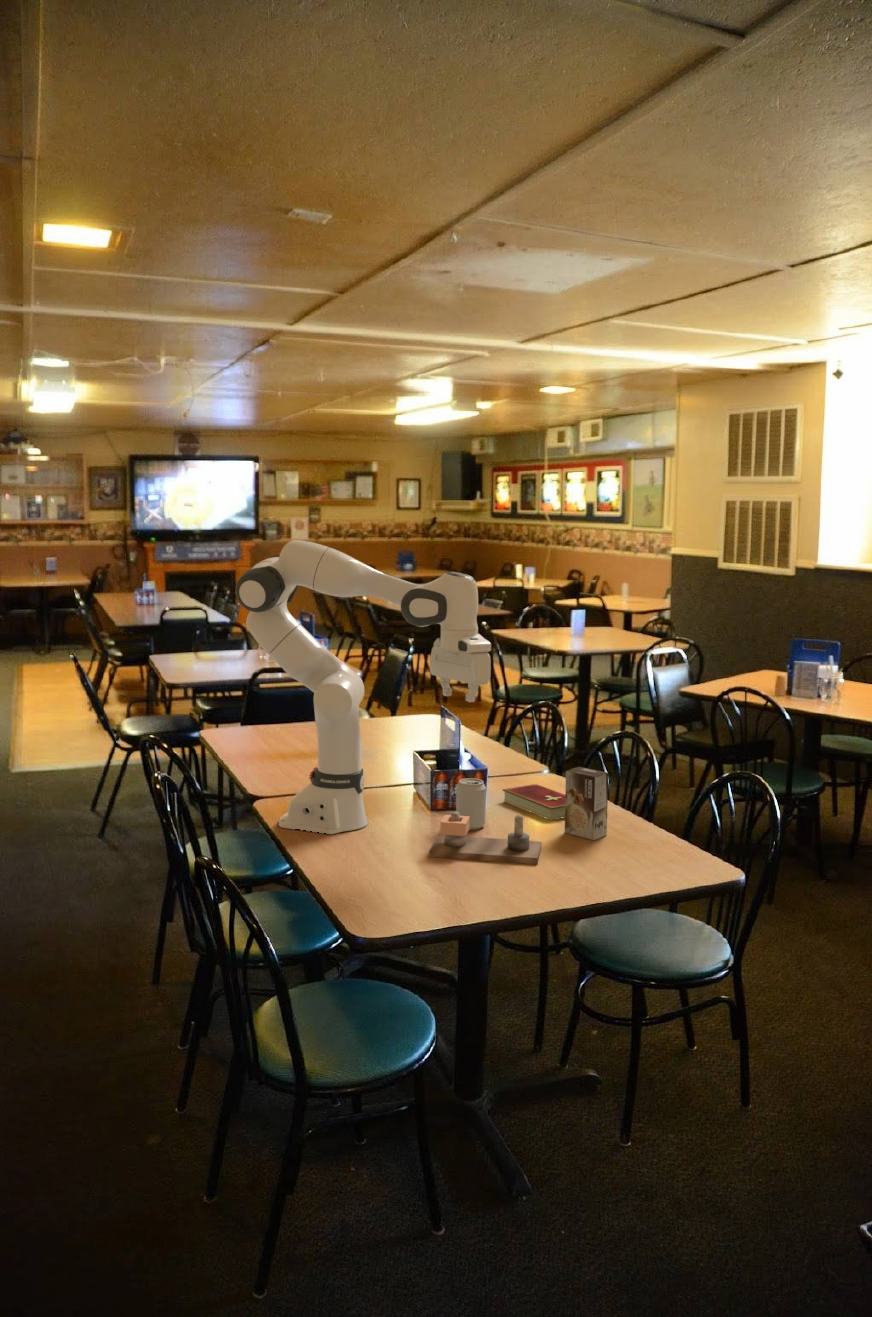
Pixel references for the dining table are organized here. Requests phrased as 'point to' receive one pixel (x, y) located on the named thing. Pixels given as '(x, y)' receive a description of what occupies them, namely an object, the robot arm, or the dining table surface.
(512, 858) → the stand board
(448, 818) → the collar
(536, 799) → the hardcover book
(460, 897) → the dining table surface
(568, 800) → the coffee box
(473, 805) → the can
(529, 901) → the dining table surface
